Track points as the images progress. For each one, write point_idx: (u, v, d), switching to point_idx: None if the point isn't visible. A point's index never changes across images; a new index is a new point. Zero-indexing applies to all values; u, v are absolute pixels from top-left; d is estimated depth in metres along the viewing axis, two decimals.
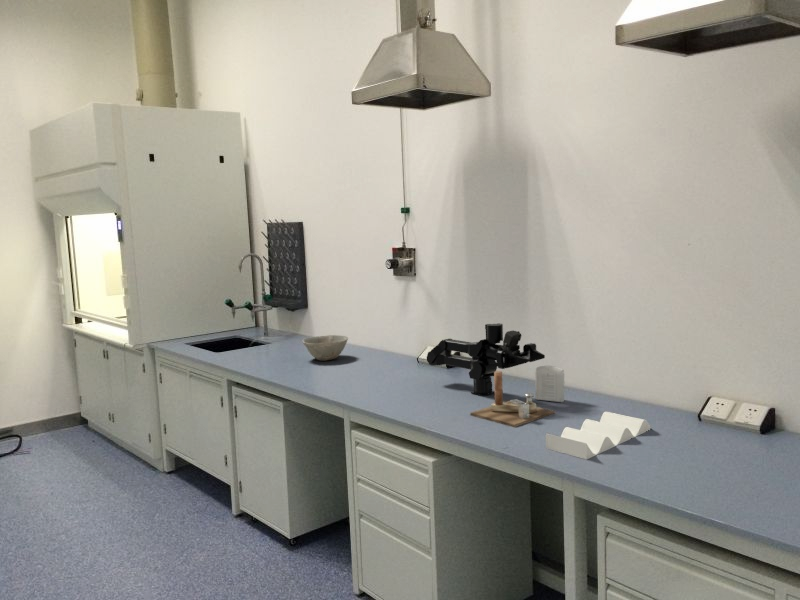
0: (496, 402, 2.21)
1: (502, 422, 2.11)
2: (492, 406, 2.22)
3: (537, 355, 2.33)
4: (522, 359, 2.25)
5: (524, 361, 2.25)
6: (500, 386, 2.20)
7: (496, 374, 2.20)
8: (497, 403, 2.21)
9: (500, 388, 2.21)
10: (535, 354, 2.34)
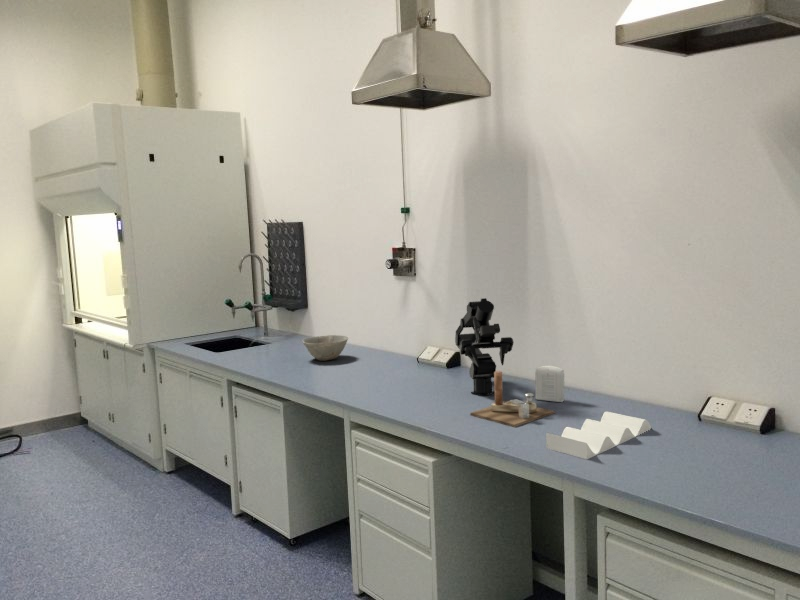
0: (496, 402, 2.21)
1: (502, 422, 2.11)
2: (492, 406, 2.22)
3: (501, 357, 2.36)
4: (476, 361, 2.34)
5: (476, 364, 2.34)
6: (500, 386, 2.20)
7: (496, 374, 2.20)
8: (497, 403, 2.21)
9: (500, 388, 2.21)
10: (501, 354, 2.36)
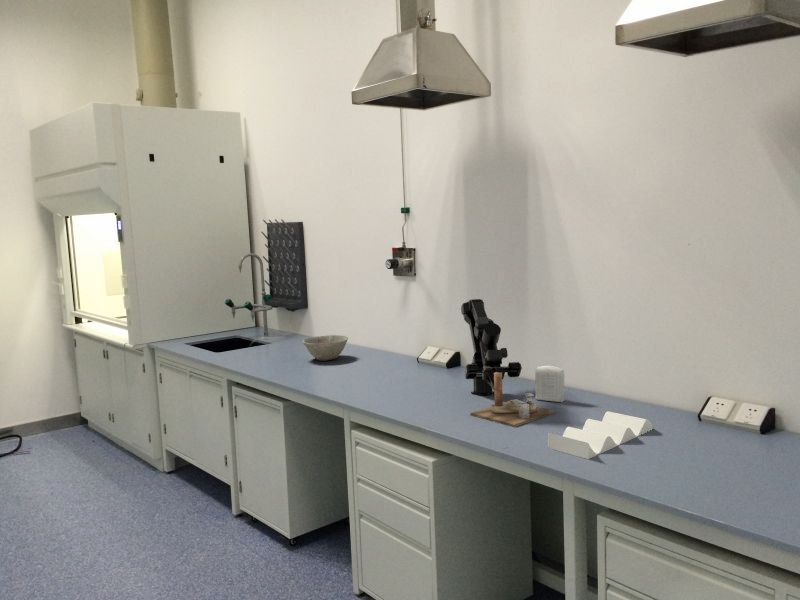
0: (496, 403, 2.20)
1: (502, 422, 2.11)
2: (492, 407, 2.20)
3: None
4: (493, 387, 2.23)
5: None
6: (500, 387, 2.19)
7: (496, 375, 2.19)
8: (497, 404, 2.20)
9: (500, 389, 2.19)
10: None
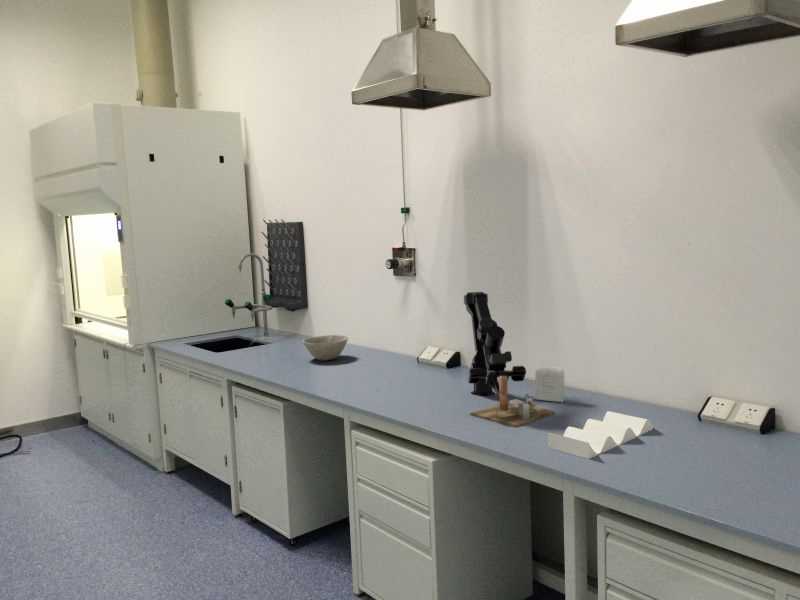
0: (503, 408, 2.14)
1: (502, 422, 2.11)
2: (500, 413, 2.14)
3: None
4: (498, 392, 2.17)
5: (498, 394, 2.17)
6: (507, 391, 2.14)
7: (504, 379, 2.13)
8: (505, 409, 2.14)
9: (507, 393, 2.14)
10: None
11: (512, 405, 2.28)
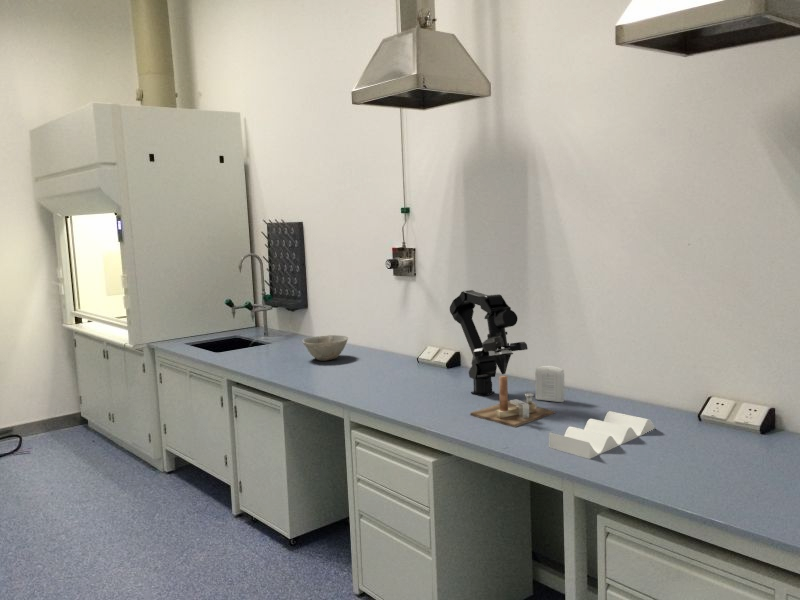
0: (503, 408, 2.14)
1: (502, 422, 2.11)
2: (500, 413, 2.14)
3: None
4: None
5: None
6: (507, 391, 2.14)
7: (504, 379, 2.13)
8: (505, 409, 2.14)
9: (507, 393, 2.14)
10: None
11: (512, 405, 2.28)
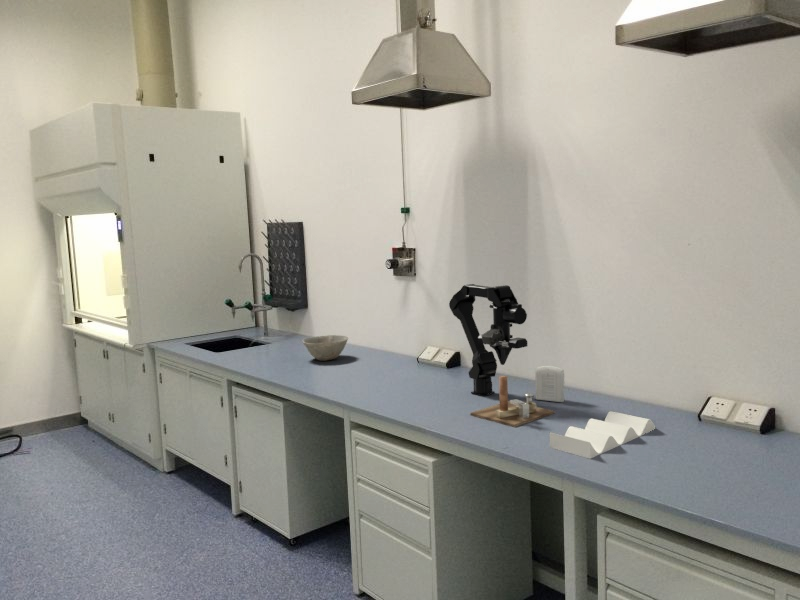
0: (503, 408, 2.14)
1: (502, 422, 2.11)
2: (500, 413, 2.14)
3: None
4: None
5: None
6: (507, 391, 2.14)
7: (504, 379, 2.13)
8: (505, 409, 2.14)
9: (507, 393, 2.14)
10: None
11: (512, 405, 2.28)
